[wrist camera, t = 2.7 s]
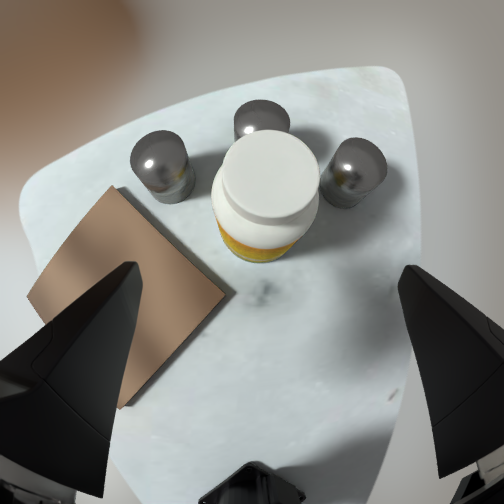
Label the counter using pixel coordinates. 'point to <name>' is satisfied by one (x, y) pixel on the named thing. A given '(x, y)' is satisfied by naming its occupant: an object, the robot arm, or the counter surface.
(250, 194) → the supplement bottle
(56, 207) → the counter surface
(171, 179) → the standoff posts
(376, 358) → the counter surface
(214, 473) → the counter surface
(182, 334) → the walnut board
